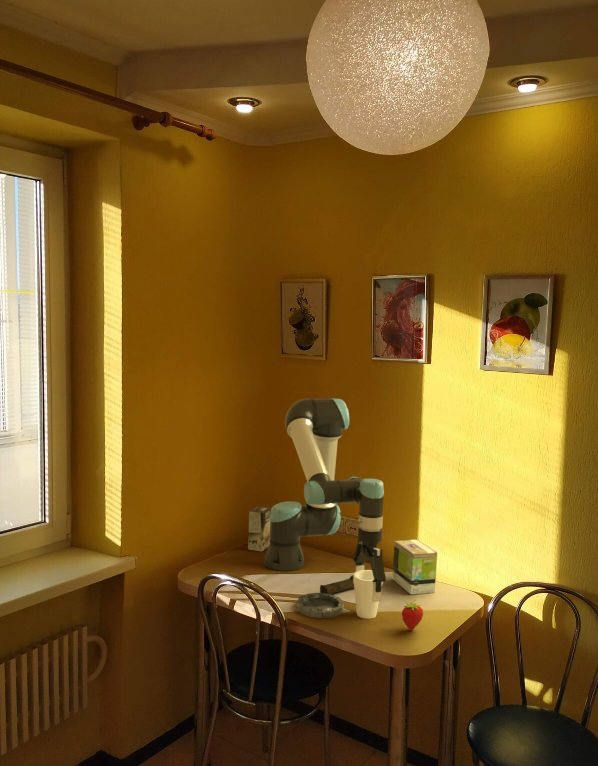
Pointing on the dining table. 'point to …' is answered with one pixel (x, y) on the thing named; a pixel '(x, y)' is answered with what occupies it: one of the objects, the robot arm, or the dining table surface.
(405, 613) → the strawberry
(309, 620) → the dining table surface
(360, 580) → the foam cup
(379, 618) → the dining table surface
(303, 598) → the grey shallow round dish
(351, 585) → the hand tool
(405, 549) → the tea box
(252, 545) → the coffee box
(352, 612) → the dining table surface
